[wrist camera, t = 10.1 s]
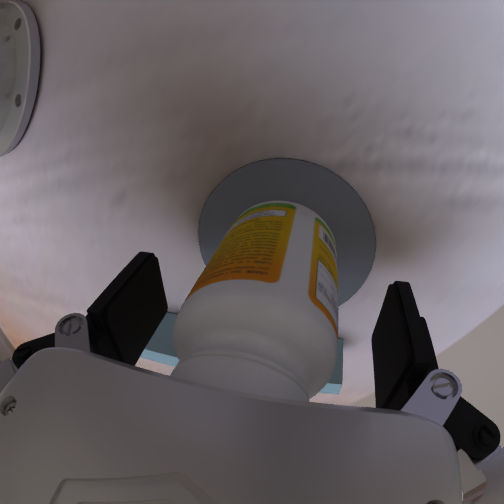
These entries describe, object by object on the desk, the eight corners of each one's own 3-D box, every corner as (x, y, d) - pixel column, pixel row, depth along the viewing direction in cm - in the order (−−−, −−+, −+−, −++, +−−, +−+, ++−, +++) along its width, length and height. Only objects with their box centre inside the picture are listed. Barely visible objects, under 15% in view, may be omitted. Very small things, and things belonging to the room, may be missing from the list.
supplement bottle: (214, 263, 16) (127, 419, 8) (254, 177, 13) (145, 333, 5) (302, 307, 17) (272, 477, 8) (357, 232, 14) (378, 428, 6)
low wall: (137, 305, 20) (112, 339, 17) (342, 338, 18) (342, 384, 15) (140, 316, 21) (117, 349, 18) (339, 349, 18) (338, 394, 15)
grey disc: (194, 154, 14) (191, 156, 14) (389, 169, 12) (390, 171, 12) (207, 302, 18) (205, 305, 18) (356, 322, 17) (356, 325, 16)
